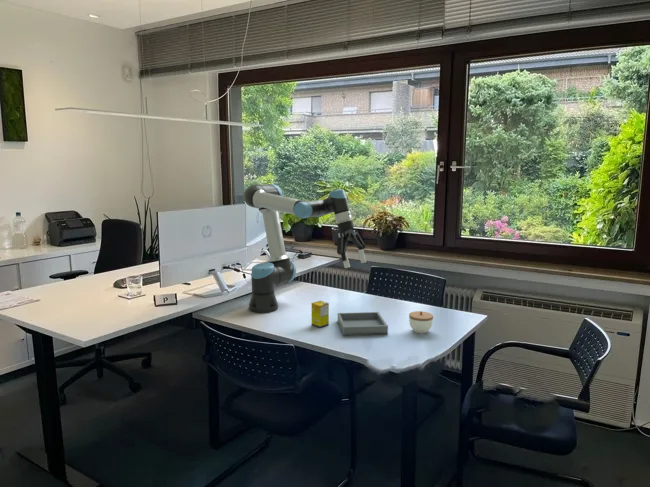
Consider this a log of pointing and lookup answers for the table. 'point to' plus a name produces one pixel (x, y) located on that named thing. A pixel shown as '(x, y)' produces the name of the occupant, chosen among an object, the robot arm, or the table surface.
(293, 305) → the table surface
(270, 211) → the robot arm
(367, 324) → the desk tray
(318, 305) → the supplement box
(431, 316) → the lidded jar
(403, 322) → the table surface
